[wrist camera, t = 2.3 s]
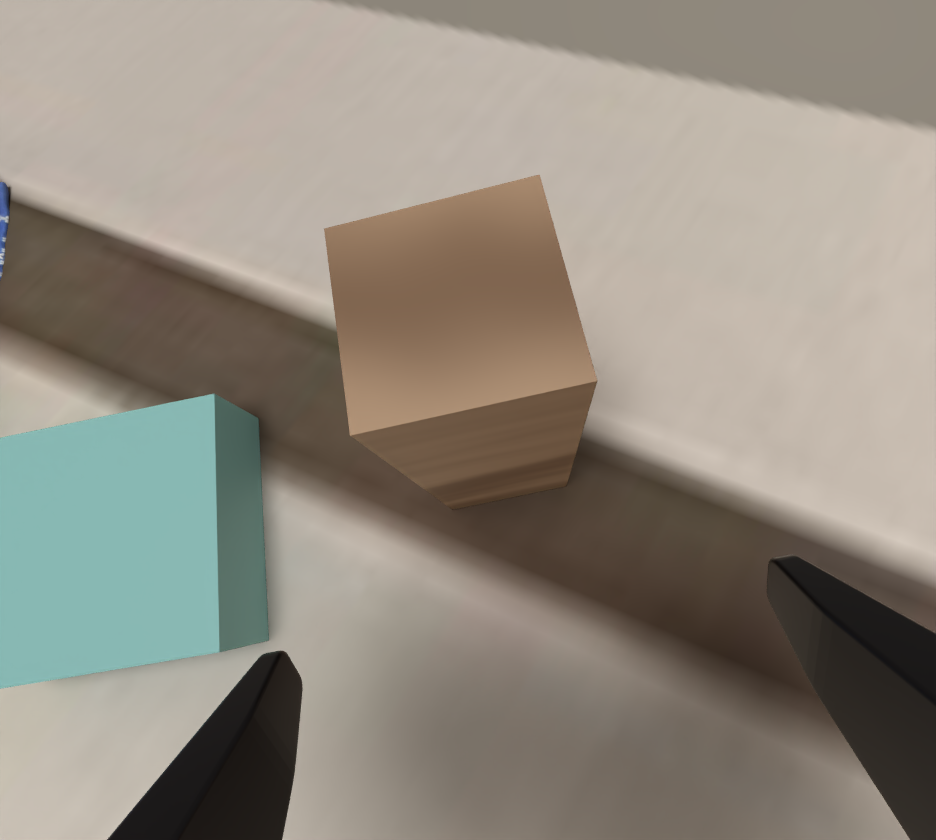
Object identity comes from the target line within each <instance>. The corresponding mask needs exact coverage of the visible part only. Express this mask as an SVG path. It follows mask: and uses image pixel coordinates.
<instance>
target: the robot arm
mask: <svg viewBox="0 0 936 840" xmlns="http://www.w3.org/2000/svg"><path fill="white" fill-rule="evenodd" d="M767 596H768V599H769V602H770V604H771V606H772V608H773V610H774V612H775V614H776V616H777V618H778V620H779V622H780V624H781V626H782V628H783V630H784V632H785V634H786V636H787V638H788V640H789V642H790V644H791V646H792V648H793V650H794V652H795V654H796V656H797V658H798V660H799V662H800V664H801V666H802V668H803V670H804V672H805V673H806V675H807V677H808V679H809V681H810V683H811V685H812V687H813V688H814V690H815V692H816V693H817V695H818V696H819V698H820V700H821V701H822V703H823V705H824V706H825V708H826V709H827V711H828V712H829V714H830V715H831V717H832V719H833V720H834V722H835V723H836V725H837V726H838V728H839V729H840V731H841V733H842V734H843V736H844V737H845V739H846V740H847V742H848V743H849V745H850V747H851V748H852V750H853V751H854V753H855V754H856V756H857V757H858V759H859V761H860V762H861V764H862V765H863V767H864V768H865V770H866V771H867V773H868V775H869V776H870V778H871V779H872V781H873V782H874V784H875V785H876V787H877V789H878V790H879V792H880V793H881V795H882V796H883V798H884V799H885V801H886V803H887V804H888V806H889V807H890V809H891V810H892V812H893V813H894V815H895V817H896V818H897V820H898V821H899V823H900V824H901V826H902V828H903V829H904V831H905V832H906V834H907V835H908V837H909V838H910V840H936V633H935V632H933V631H931V630H930V629H928V628H926V627H924V626H922V625H921V624H919V623H917V622H915V621H913V620H912V619H910V618H908V617H906V616H905V615H903V614H901V613H899V612H897V611H896V610H894V609H892V608H890V607H888V606H887V605H885V604H883V603H881V602H880V601H878V600H876V599H874V598H872V597H871V596H869V595H867V594H865V593H863V592H862V591H860V590H858V589H856V588H855V587H853V586H851V585H849V584H847V583H846V582H844V581H842V580H840V579H838V578H837V577H835V576H833V575H831V574H830V573H828V572H826V571H824V570H822V569H821V568H819V567H817V566H815V565H813V564H812V563H810V562H808V561H806V560H804V559H803V558H801V557H799V556H796V555H785V556H780V557H774V558H772V559H771V560H770V561H769V564H768V578H767ZM301 700H302V680H301V677H300V675H299V673H298V671H297V670H296V668H295V666H294V664H293V663H292V661H291V659H290V658H289V656H288V654H287V653H286V652H284V651H276V652H270V653H266V654H263V655H262V656H260V657H259V658H258V660H257V661H256V662H255V663H254V664H253V666H252V667H251V668H250V669H249V670H248V672H247V673H246V674H245V675H244V676H243V678H242V679H241V680H240V681H239V682H238V684H237V685H236V686H235V687H234V688H233V690H232V691H231V692H230V693H229V694H228V696H227V697H226V698H225V699H224V700H223V701H222V703H221V704H220V705H219V706H218V707H217V709H216V710H215V711H214V712H213V713H212V715H211V716H210V717H209V718H208V719H207V721H206V722H205V723H204V724H203V725H202V727H201V728H200V729H199V730H198V731H197V733H196V734H195V735H194V736H193V737H192V739H191V740H190V741H189V742H188V743H187V745H186V746H185V747H184V748H183V749H182V751H181V752H180V753H179V754H178V755H177V757H176V758H175V759H174V760H173V761H172V763H171V764H170V765H169V766H168V767H167V769H166V770H165V771H164V772H163V773H162V775H161V776H160V777H159V778H158V779H157V781H156V782H155V783H154V784H153V785H152V787H151V788H150V789H149V790H148V791H147V793H146V794H145V795H144V796H143V797H142V799H141V800H140V801H139V802H138V803H137V805H136V806H135V807H134V808H133V809H132V811H131V812H130V813H129V814H128V815H127V817H126V818H125V819H124V820H123V821H122V823H121V824H120V825H119V826H118V827H117V829H116V830H115V831H114V832H113V833H112V834H111V836H110V837H109V838H108V839H107V840H282V837H283V832H284V827H285V822H286V817H287V812H288V806H289V801H290V796H291V791H292V785H293V779H294V772H295V764H296V754H297V743H298V733H299V722H300V711H301Z"/></svg>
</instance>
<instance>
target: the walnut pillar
mask: <svg viewBox="0 0 936 840" xmlns="http://www.w3.org/2000/svg"><path fill="white" fill-rule="evenodd" d="M324 231H325V239H326V247H327V255H328V263H329V271H330V279H331V286H332V294H333V302H334V310H335V318H336V326H337V334H338V342H339V350H340V358H341V366H342V374H343V382H344V390H345V398H346V406H347V414H348V422H349V430H350V436H351V437H353V438H354V439H356V440H357V441H358V442H360V443H361V444H362V445H364V446H365V447H367V448H368V449H369V450H371V451H372V452H373V453H375V454H376V455H378V456H379V457H380V458H382V459H383V460H385V461H386V462H387V463H389V464H390V465H391V466H393V467H394V468H396V469H397V470H398V471H400V472H401V473H402V474H404V475H405V476H407V477H408V478H409V479H411V480H412V481H413V482H415V483H416V484H418V485H419V486H420V487H422V488H423V489H424V490H426V491H427V492H429V493H430V494H431V495H433V496H434V497H435V498H437V499H438V500H440V501H441V502H442V503H444V504H445V505H447V506H448V507H449V508H451V509H452V510H454V509H459V508H464V507H469V506H474V505H478V504H483V503H488V502H493V501H498V500H503V499H507V498H512V497H517V496H522V495H527V494H531V493H536V492H541V491H546V490H551V489H555V488H560V487H565V486H567V483H568V479H569V476H570V472H571V469H572V466H573V462H574V459H575V455H576V452H577V448H578V445H579V442H580V438H581V435H582V431H583V428H584V424H585V421H586V418H587V414H588V411H589V407H590V404H591V401H592V397H593V394H594V390H595V387H596V383H597V378H596V375H595V371H594V368H593V364H592V361H591V357H590V353H589V350H588V346H587V343H586V339H585V336H584V332H583V328H582V325H581V321H580V318H579V314H578V311H577V307H576V303H575V300H574V296H573V293H572V289H571V286H570V282H569V278H568V275H567V271H566V268H565V264H564V261H563V257H562V253H561V250H560V246H559V243H558V239H557V236H556V232H555V228H554V225H553V221H552V218H551V214H550V211H549V207H548V203H547V200H546V196H545V193H544V189H543V186H542V182H541V178H540V175H536V176H532V177H528V178H524V179H520V180H516V181H512V182H508V183H504V184H500V185H496V186H492V187H488V188H484V189H480V190H476V191H472V192H468V193H464V194H461V195H457V196H453V197H449V198H445V199H441V200H437V201H433V202H429V203H425V204H421V205H417V206H413V207H409V208H405V209H401V210H397V211H393V212H389V213H385V214H381V215H377V216H373V217H369V218H365V219H361V220H357V221H353V222H349V223H345V224H341V225H337V226H333V227H329V228H325V229H324Z"/></svg>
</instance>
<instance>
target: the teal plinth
mask: <svg viewBox="0 0 936 840" xmlns="http://www.w3.org/2000/svg"><path fill="white" fill-rule="evenodd" d="M268 640H269V633H268V611H267V590H266V569H265V547H264V526H263V505H262V483H261V462H260V441H259V419H258V418H257V417H255V416H253V415H252V414H250V413H248V412H246V411H244V410H243V409H241V408H239V407H237V406H235V405H234V404H232V403H230V402H228V401H226V400H225V399H223V398H221V397H219V396H217V395H216V394H211V395H206V396H201V397H196V398H191V399H186V400H182V401H177V402H172V403H167V404H162V405H157V406H152V407H148V408H143V409H138V410H133V411H128V412H123V413H118V414H114V415H109V416H104V417H99V418H94V419H89V420H84V421H80V422H75V423H70V424H65V425H60V426H55V427H50V428H46V429H41V430H36V431H31V432H26V433H21V434H16V435H11V436H7V437H2V438H0V689H1V688H7V687H13V686H19V685H25V684H31V683H37V682H43V681H49V680H55V679H61V678H67V677H73V676H79V675H85V674H91V673H97V672H103V671H109V670H116V669H122V668H128V667H134V666H140V665H146V664H152V663H158V662H164V661H170V660H176V659H182V658H188V657H194V656H200V655H206V654H212V653H218V652H223V651H227V650H231V649H235V648H239V647H243V646H247V645H252V644H256V643H260V642H264V641H268Z"/></svg>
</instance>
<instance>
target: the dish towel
mask: <svg viewBox="0 0 936 840" xmlns="http://www.w3.org/2000/svg"><path fill="white" fill-rule="evenodd" d="M8 223H9V192H8V187H7V185H6V184H5V183H4V182H0V279H1V276H2V267H3V264H4V259H5V242H6V234H7V229H8Z"/></svg>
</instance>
